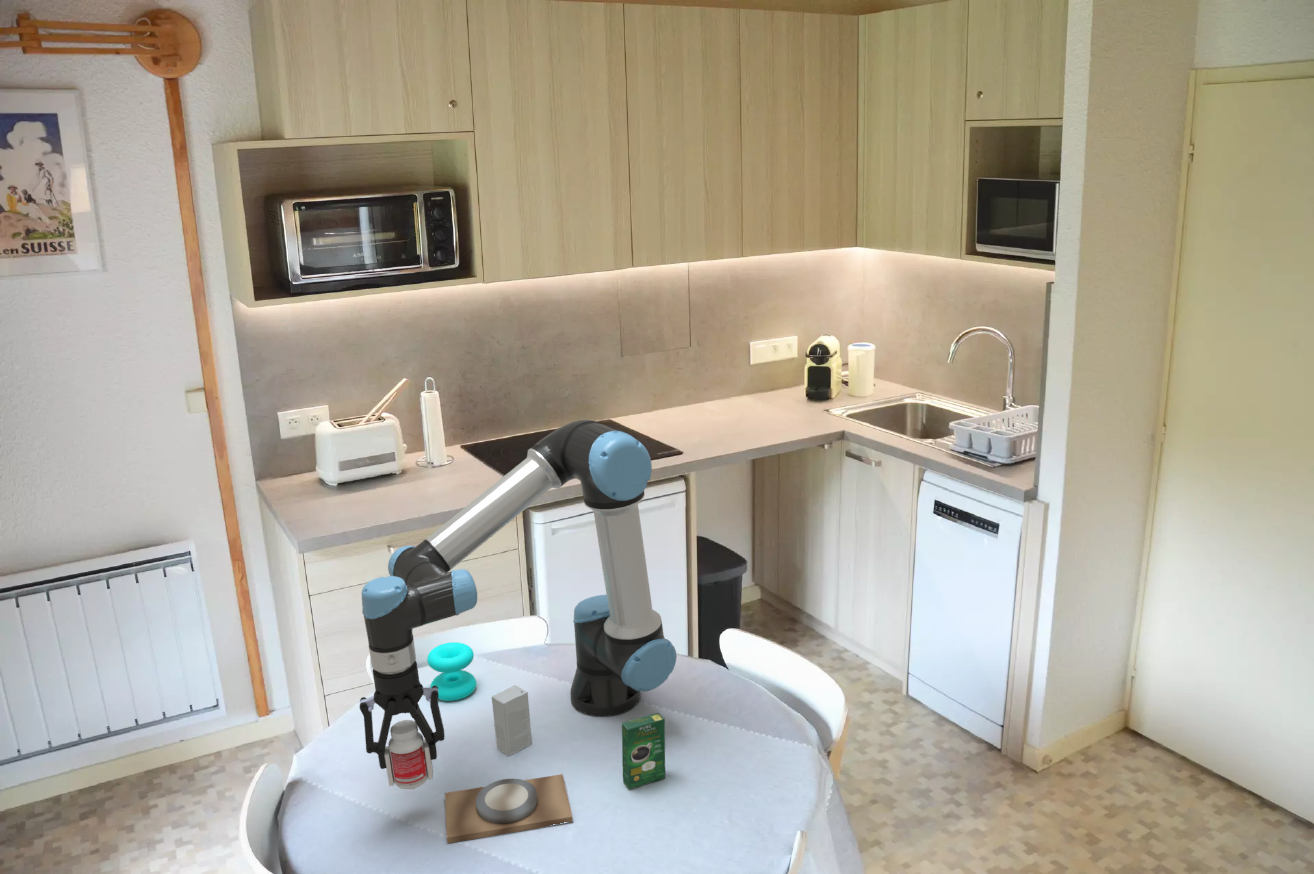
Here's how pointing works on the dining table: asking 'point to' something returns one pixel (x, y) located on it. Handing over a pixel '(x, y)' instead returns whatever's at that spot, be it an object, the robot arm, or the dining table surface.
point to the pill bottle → (407, 755)
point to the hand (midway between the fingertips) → (411, 777)
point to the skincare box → (512, 720)
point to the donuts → (452, 670)
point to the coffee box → (643, 750)
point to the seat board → (506, 808)
